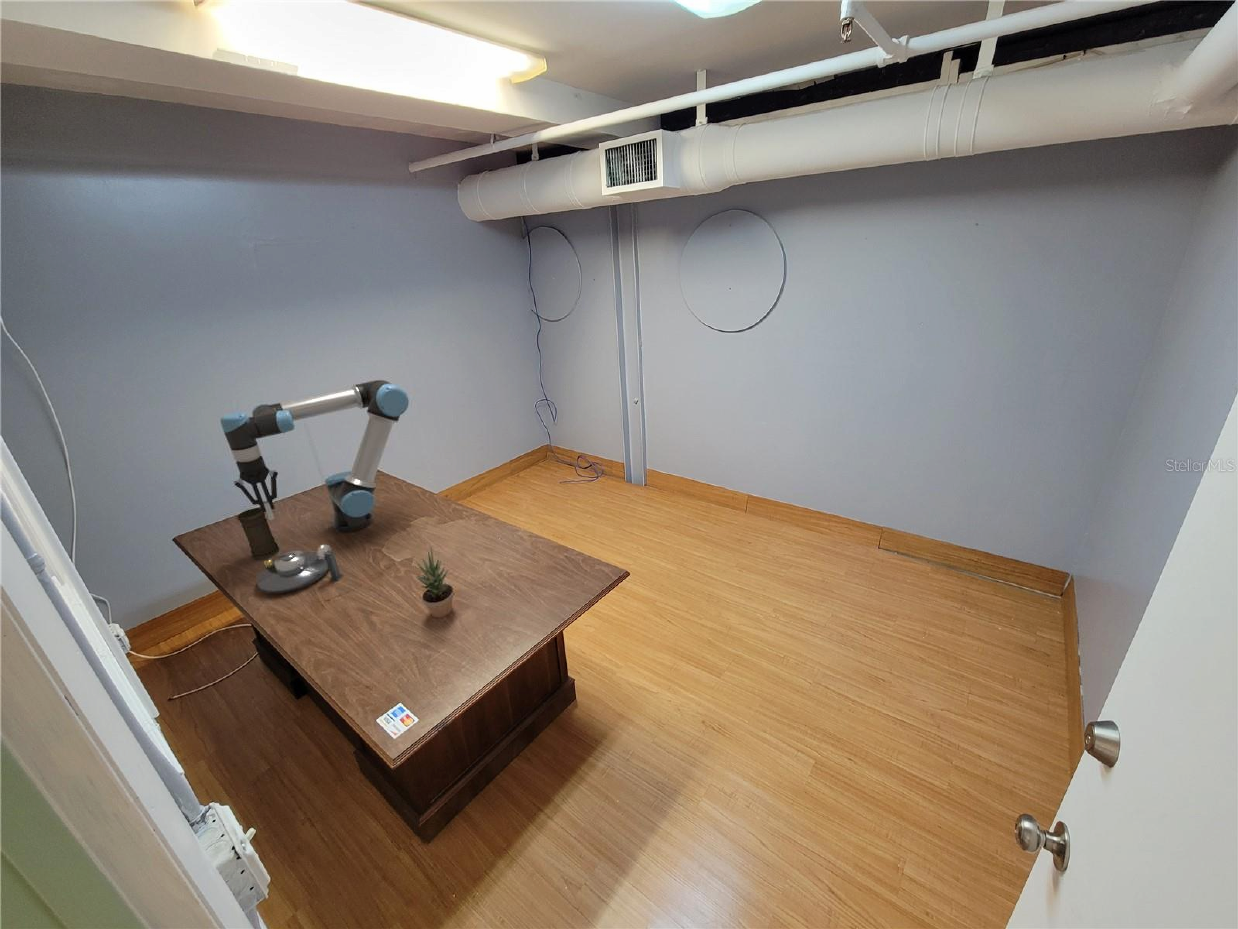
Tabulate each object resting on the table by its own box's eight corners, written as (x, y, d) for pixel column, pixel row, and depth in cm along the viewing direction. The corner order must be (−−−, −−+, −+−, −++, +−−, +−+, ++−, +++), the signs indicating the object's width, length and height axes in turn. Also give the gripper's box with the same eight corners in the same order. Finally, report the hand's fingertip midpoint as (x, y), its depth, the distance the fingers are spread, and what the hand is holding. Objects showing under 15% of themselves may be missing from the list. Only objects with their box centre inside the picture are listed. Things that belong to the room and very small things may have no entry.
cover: (291, 561, 181) (286, 548, 179) (313, 563, 180) (308, 549, 177) (272, 576, 173) (266, 562, 170) (295, 578, 172) (290, 563, 169)
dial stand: (344, 574, 178) (334, 542, 173) (336, 582, 174) (325, 550, 168) (334, 573, 179) (324, 541, 173) (325, 582, 174) (314, 549, 169)
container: (266, 560, 188) (250, 519, 181) (246, 558, 190) (230, 518, 183) (285, 547, 196) (270, 507, 189) (266, 546, 198) (251, 506, 191)
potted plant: (439, 625, 151) (423, 557, 141) (419, 615, 156) (402, 549, 146) (464, 606, 159) (451, 541, 149) (445, 597, 164) (430, 533, 154)
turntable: (291, 554, 189) (287, 543, 187) (343, 558, 185) (339, 547, 183) (242, 591, 169) (237, 579, 167) (298, 596, 166) (294, 583, 164)
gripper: (268, 449, 176) (289, 508, 185) (223, 461, 167) (248, 521, 177) (273, 455, 171) (294, 514, 180) (227, 467, 162) (252, 528, 172)
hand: (271, 518), depth 179 cm, fingers closed
